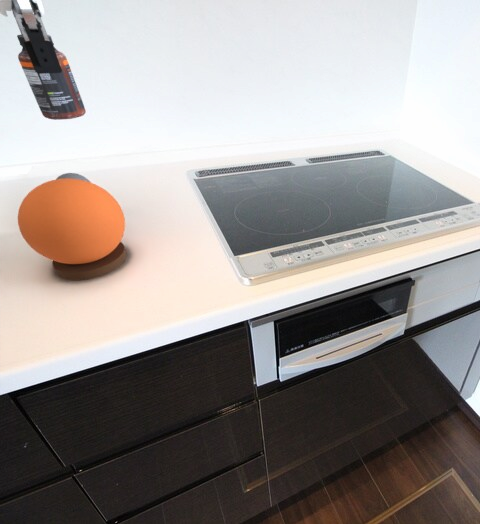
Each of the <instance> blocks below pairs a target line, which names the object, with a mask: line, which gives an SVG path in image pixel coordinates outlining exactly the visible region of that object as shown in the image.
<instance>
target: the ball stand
mask: <svg viewBox="0 0 480 524" xmlns="http://www.w3.org/2000/svg"><path fill="white" fill-rule="evenodd" d="M17 225H18V229H19V232H20V234H21V236H22V239H24V241H25V242H26V244H27V245H28V246H29V247H30V248H31V249H32V250H34V251H35V252H36V253H37V254H39V255H40V256H42V257H43V258H46V259H48V260H50V261H51V264H52V267H53V269H54V272H55V273H56V274H57V276H58V277H59V278H61V279H64V280H67V281H68V280H69V281H86V280H92V279H95V278H100V277H102V276H105V275H107V274H110V273H112V272H114V271H116V270H117V269H119V267H121V266H122V265H123V264H124V263H125V261H126V260H127V258H128V253H127V250H126V248H125V245H124V243H123V242H121V241H122V239H123V237H124V233H125V230H126V229H125V228H126V219H125V215H124V212H123V209H122V207H121V205H120V203H119V202H118V201H117V200H116V198H115V197H114V196H113V195H112V194H111V193H110V192H109V191H107V189H104V188H103V187H101V186H100V185H98V184H96V183H93V182H91V181H90V182H88V181H84V180H79V179H70V178H66V179H57V178H55V179H51V180H48V181H45V182H43V183H41V184H39V185H37V186H35V187H34V188H33V189H31V190H30V191H29V192H28V193H27V194H26V196H25V197H24V198H23V200H22V201H21V203H20V205H19V207H18V211H17Z"/></svg>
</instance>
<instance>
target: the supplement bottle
mask: <svg viewBox="0 0 480 524" xmlns="http://www.w3.org/2000/svg"><path fill="white" fill-rule="evenodd" d="M27 35H28V34H27ZM47 35H48V38H49V41H51V42H52V44H53V47H54V50H55V52H56V55H57V58H58V61H59V63H60V66H61V69H62V72H61V73H45V74H38V73H36V72H35V70H34V67H33V65H32V62H31V60H30V57H29V55H28V52H27V50H26V47H25V45H24V42H23V41H25V39H24V37H23V34H17V35H16V38H17V40H18V42H19V45H20V46H21V47H22V49H21V51H20V52H19V53H18V54H17V59H18V62H19V64H20V66H21V69H22V71H23V73H24V76H25V78H26V80H27V83H28V85H29V87H30V89H31V92H32V94H33V96H34V98H35V101H36V104H37V105H38V108H39V110H40V113H41V114H42V116H43V117H44V118H45V119H48V120H72V119H76V118H80V117H83V116H84V115H85V114H86V113H87V112H86V107H85V104H84V102H83V98H82V96H81V94H80V91H79V88H78V85H77V83H76V79H75V77H74V75H73V72H72V69H71V66H70V63H69V61H68V59H67V56H66V55H65V54H64V53H63V52H62V51H59V50H58V49H57V48H56V47H55V46H54V45H55V43H54V41H53V39H52V36H51V35H50V34H47ZM29 40H30V39H29Z"/></svg>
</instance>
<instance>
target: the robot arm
mask: <svg viewBox="0 0 480 524" xmlns="http://www.w3.org/2000/svg"><path fill="white" fill-rule="evenodd" d="M7 12H12V15H13V17H14V19H15V22H16V24H17V27H18V29H19V32H20V35H22V34H23V37H24V39H25V41H23V42H24V45H25V47H26V50H27V52H28V55H29V57H30V60H31V62H32V65H33V67H34V70H35V72H36V73H38V74H45V73H61V72H62V69H61V66H60V63H59V61H58V58H57V55H56V52H55V50H54V47H55V46H54V47H53V44H52V42H51V41H49V38H48V35H49V34H48V32H47V30H46V27H45V25H44V22H43V20H42V18H43V17H45V15H46V12H45V8H44V5H43V1H42V0H0V14H1V16H4V17H9V15H8V14H7ZM27 34H28V35H27ZM29 39H30V40H29Z"/></svg>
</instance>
